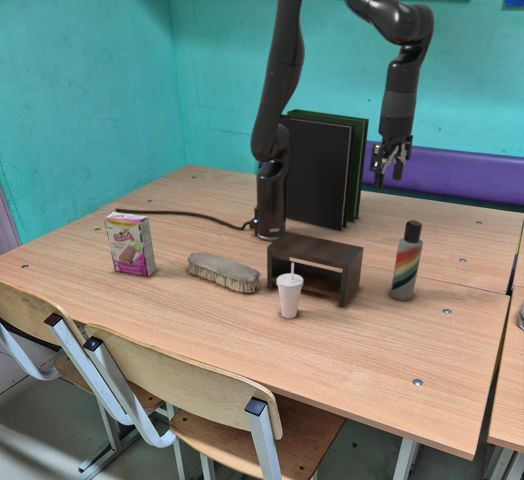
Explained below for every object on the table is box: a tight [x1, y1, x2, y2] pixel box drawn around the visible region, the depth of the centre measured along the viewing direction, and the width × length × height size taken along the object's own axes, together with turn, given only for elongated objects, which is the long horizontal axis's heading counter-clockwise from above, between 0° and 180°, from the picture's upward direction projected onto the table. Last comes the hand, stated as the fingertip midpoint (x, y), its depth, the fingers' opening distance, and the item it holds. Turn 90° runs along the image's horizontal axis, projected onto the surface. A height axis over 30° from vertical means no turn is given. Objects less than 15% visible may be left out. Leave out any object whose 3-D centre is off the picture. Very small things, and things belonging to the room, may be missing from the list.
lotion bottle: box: [390, 219, 424, 301], centre depth 123 cm, size 6×6×20 cm
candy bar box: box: [103, 211, 157, 278], centre depth 137 cm, size 11×5×16 cm, turn 71°
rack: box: [266, 230, 365, 309], centre depth 129 cm, size 22×11×12 cm, turn 61°
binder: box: [278, 108, 370, 232], centre depth 163 cm, size 27×15×32 cm, turn 54°
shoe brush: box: [187, 251, 261, 294], centre depth 135 cm, size 24×8×5 cm, turn 54°
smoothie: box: [276, 263, 303, 319], centre depth 118 cm, size 6×6×14 cm
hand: (387, 184), depth 121 cm, fingers open, 8 cm apart
